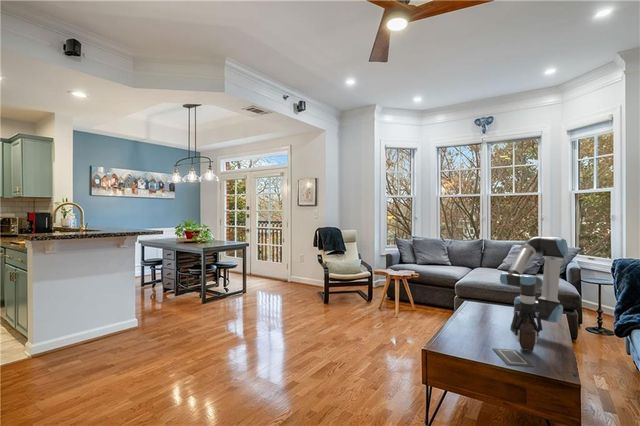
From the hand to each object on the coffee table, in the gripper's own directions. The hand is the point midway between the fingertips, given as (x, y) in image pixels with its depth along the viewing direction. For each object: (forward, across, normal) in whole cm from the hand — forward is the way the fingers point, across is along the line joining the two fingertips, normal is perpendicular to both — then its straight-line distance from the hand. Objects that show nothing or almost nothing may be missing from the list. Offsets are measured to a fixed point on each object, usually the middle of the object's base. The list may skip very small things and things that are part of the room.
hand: (526, 341), depth 193 cm
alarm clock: (+6, 0, 0) cm, 6 cm away
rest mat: (+5, +12, +11) cm, 17 cm away
